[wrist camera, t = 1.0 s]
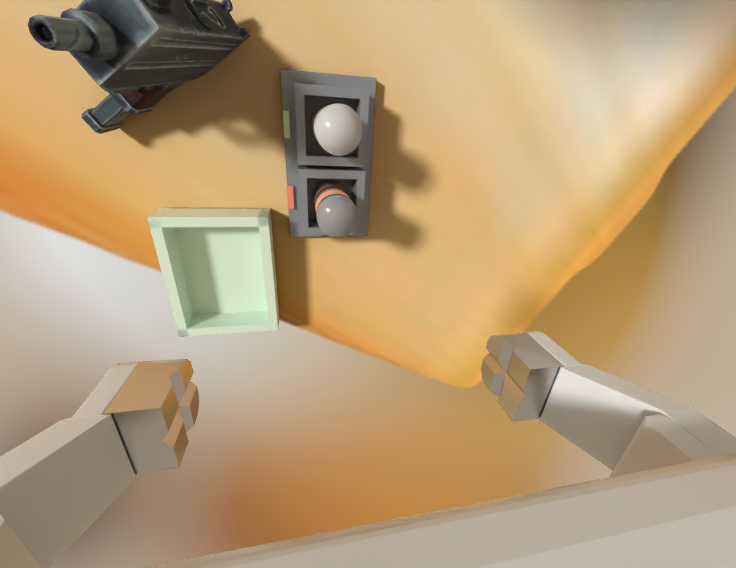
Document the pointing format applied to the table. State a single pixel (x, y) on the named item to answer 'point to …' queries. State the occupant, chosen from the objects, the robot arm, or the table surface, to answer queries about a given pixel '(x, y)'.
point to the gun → (140, 48)
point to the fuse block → (308, 156)
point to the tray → (218, 268)
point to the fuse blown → (334, 209)
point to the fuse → (337, 129)
